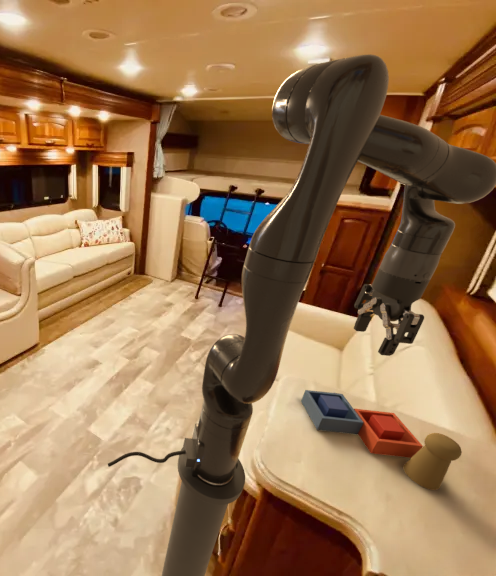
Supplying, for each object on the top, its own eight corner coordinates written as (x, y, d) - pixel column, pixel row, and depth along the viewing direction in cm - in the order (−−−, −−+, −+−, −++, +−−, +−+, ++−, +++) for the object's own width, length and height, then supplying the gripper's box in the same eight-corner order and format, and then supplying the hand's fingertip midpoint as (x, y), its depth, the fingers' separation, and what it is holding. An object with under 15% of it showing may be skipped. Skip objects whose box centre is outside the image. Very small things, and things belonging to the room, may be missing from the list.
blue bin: (316, 430, 78) (322, 418, 76) (300, 401, 86) (305, 389, 84) (357, 434, 77) (363, 422, 75) (337, 405, 85) (342, 393, 84)
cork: (396, 460, 71) (419, 425, 66) (427, 465, 70) (453, 431, 65) (414, 486, 66) (440, 450, 61) (447, 493, 65) (476, 457, 60)
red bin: (370, 453, 72) (377, 440, 71) (347, 420, 81) (353, 408, 79) (414, 458, 72) (423, 446, 70) (387, 424, 80) (394, 412, 78)
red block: (376, 443, 74) (384, 430, 72) (364, 427, 78) (371, 414, 76) (396, 446, 74) (405, 432, 72) (384, 429, 78) (391, 416, 76)
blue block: (323, 421, 79) (329, 408, 78) (314, 407, 84) (320, 394, 82) (342, 423, 79) (348, 410, 77) (332, 409, 83) (338, 396, 81)
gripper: (361, 256, 66) (334, 322, 73) (411, 285, 54) (373, 361, 61) (399, 259, 66) (369, 325, 73) (459, 288, 53) (415, 365, 60)
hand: (371, 341), depth 67 cm, fingers open, 8 cm apart
